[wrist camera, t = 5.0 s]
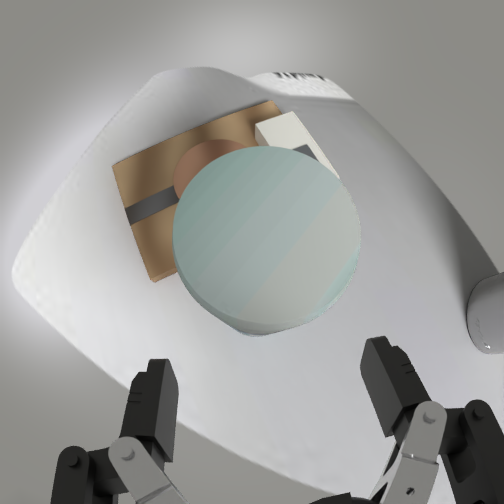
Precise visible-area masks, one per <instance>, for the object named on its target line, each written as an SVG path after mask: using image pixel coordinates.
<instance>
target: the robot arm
mask: <svg viewBox="0 0 504 504" xmlns="http://www.w3.org/2000/svg"><path fill="white" fill-rule="evenodd" d="M467 323H468V330H469V333H470V336H471V338H472V340H473V342H474V344H475V345H476V347H477V348H478V349H479V350H481V351H482V352H484V353H487V354H502V353H504V272H502V273H500V274H497V275H494V276H492V277H489V278H486V279H484V280H482V281H480V282H479V283H478V284H477V285H476V287H475V288H474V289H473V291H472V294H471V296H470V299H469V303H468V309H467ZM360 370H361V375H362V378H363V380H364V383H365V385H366V388H367V390H368V393H369V396H370V398H371V401H372V403H373V406H374V408H375V411H376V414H377V416H378V419H379V422H380V424H381V427H382V430H383V432H384V435H385V438H386V437H389V436H393V435H394V437H395V439H396V441H395V443H394V446H393V448H392V451H391V453H390V456H389V458H388V461H387V463H386V465H385V468H384V470H383V472H382V475H381V477H380V479H379V481H378V482H377V484H376V486H375V487H374V489H373V491H372V493H371V495H370V497H369V499H364V498H358V497H351V494H350V492H349V493H344V494H340V495H336V496H331V497H326V498H322V499H320V500H317V501H315V502H312V503H310V504H427V502H428V499H429V497H430V494H431V491H432V488H433V485H434V482H435V479H436V476H437V472H438V468H439V464H438V463H436V460H437V456H438V455H439V454H440V455H441V458H442V460H443V463H444V466H445V469H446V472H447V475H448V478H449V481H450V485H451V488H452V491H453V494H454V498H455V501H456V504H504V434H503V432H502V430H501V428H500V426H499V424H498V422H497V420H496V418H495V416H494V414H493V412H492V410H491V408H490V406H489V405H488V404H487V403H486V402H484V401H482V400H472V401H470V402H469V403H468V404H467V405H466V406H465V408H452V409H446V408H444V407H443V406H442V405H440V404H439V403H437V402H434V401H432V400H431V399H430V397H429V395H428V393H427V391H426V390H425V388H424V386H423V384H422V382H421V380H420V378H419V376H418V374H417V372H415V369H414V367H413V365H411V361H410V360H409V358H408V356H407V354H406V353H405V352H404V351H403V350H402V349H400V348H399V347H398V346H393V347H391V345H390V343H389V341H388V339H387V338H386V337H385V336H380V337H375V338H369V339H367V340H366V343H365V347H364V351H363V355H362V359H361V364H360ZM178 395H179V391H178V383H177V380H176V377H175V374H174V372H173V369H172V366H171V363H170V361H169V359H150V360H149V363H148V367H147V372H138V374H137V375H136V377H135V378H134V379H133V381H132V383H131V387H130V394H129V396H128V403H127V405H126V410H125V414H124V419H123V424H122V429H121V433H120V436H119V438H118V439H117V440H115V441H114V442H113V443H112V444H111V446H110V447H108V448H105V449H100V450H94V451H89V452H86V451H85V450H84V449H83V448H81V447H78V446H70V447H67V448H65V449H64V450H63V451H62V452H61V454H60V455H59V458H58V462H57V467H56V473H55V479H54V484H53V490H52V497H51V504H118V494H121V493H127V492H130V494H131V495H132V497H133V498H134V500H135V502H136V504H190V503H189V502H188V501H187V500H186V499H185V498H184V497H183V495H182V494H181V493H180V492H179V490H178V489H177V488H176V487H175V486H174V484H173V483H172V482H171V480H170V479H169V478H168V477H167V475H166V474H165V473H164V463H165V462H173V450H174V438H175V427H176V416H177V405H178Z"/></svg>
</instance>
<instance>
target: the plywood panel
mask: <svg viewBox="0 0 504 504" xmlns="http://www.w3.org/2000/svg"><path fill="white" fill-rule="evenodd" d="M280 115H283V114H282V113H281V111H280V110H279V109H278V107H277V106H276V105H275V103H274V102H273V101H272V100H271V101H268V102H265V103H262V104H259V105H256V106H253V107H250V108H247V109H244V110H241V111H238V112H235V113H233V114H230V115H227V116H224V117H222V118H219V119H216V120H214V121H211V122H209V123H206V124H204V125H201V126H199V127H196V128H194V129H191V130H189V131H186V132H184V133H182V134H179V135H177V136H174V137H172V138H170V139H168V140H165V141H163V142H161V143H159V144H156V145H154V146H152V147H150V148H148V149H146V150H143V151H141V152H139V153H137V154H135V155H133V156H131V157H129V158H127V159H125V160H123V161H121V162H119V163H117V164H115V165H113V166H112V168H113V172H114V175H115V179H116V182H117V185H118V189H119V192H120V195H121V198H122V201H123V204H124V208H125V211H126V214H127V217H128V220H129V223H130V226H131V229H132V231H133V234H134V237H135V240H136V243H137V246H138V248H139V251H140V254H141V257H142V259H143V262H144V265H145V267H146V270H147V272H148V275H149V278H150V280H152V281H153V282H157V281H159V280H161V279H163V278H165V277H167V276H169V275H172V274H174V273H176V272H178V271H177V268H176V265H175V261H174V256H173V249H172V232H173V221H174V216H175V211H176V208H177V205H178V202H179V200H180V198H181V196H182V194H183V192H184V190H185V189H186V187H187V186H188V184H189V183H190V181H191V180H192V179H193V178H194V177H195V176H196V175H197V174H198V173H199V172H200V171H201V170H202V169H203V168H204V167H205V166H207V165H208V164H209V163H211V162H212V161H214V160H215V159H217V158H219V157H221V156H223V155H225V154H227V153H230V152H233V151H236V150H239V149H243V148H248V147H255V146H259V144H258V143H257V141H256V140H255V124H256V123H259V122H262V121H265V120H268V119H271V118H274V117H277V116H280Z"/></svg>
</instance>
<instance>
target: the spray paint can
mask: <svg viewBox="0 0 504 504" xmlns="http://www.w3.org/2000/svg"><path fill="white" fill-rule="evenodd" d="M360 244H361V229H360V222H359V217H358V213H357V210H356V207H355V204H354V202H353V200H352V198H351V196H350V194H349V192H348V191H347V189H346V188H345V186H344V185H343V184H342V182H341V181H340V180H339V179H338V178H337V176H336V175H335V174H334V173H332V172H331V171H330V170H329V169H328V168H327V167H325V166H324V165H323V164H321V163H320V162H318V161H317V160H315V159H313V158H311V157H309V156H307V155H305V154H303V153H300V152H298V151H294V150H291V149H287V148H282V147H274V146H255V147H248V148H243V149H239V150H236V151H233V152H230V153H227V154H225V155H223V156H221V157H219V158H217V159H215V160H214V161H212V162H211V163H209V164H208V165H207V166H205V167H204V168H203V169H202V170H201V171H200V172H199V173H198V174H197V175H196V176H195V177H194V178H193V179H192V180H191V181H190V183H189V184H188V186H187V187H186V189H185V190H184V192H183V194H182V196H181V198H180V200H179V202H178V205H177V208H176V211H175V216H174V221H173V232H172V249H173V256H174V261H175V265H176V268H177V271H178V273H179V275H180V278H181V280H182V282H183V283H184V285H185V287H186V288H187V290H188V291H189V293H190V294H191V295H192V296H193V298H194V299H195V300H196V301H197V302H198V303H199V304H200V305H201V306H202V307H203V308H205V309H206V310H207V311H208V312H210V313H211V314H213V315H214V316H216V317H217V318H218V319H220V320H221V321H223V322H224V323H226V324H227V325H229V326H230V327H232V328H233V329H235V330H237V331H238V332H240V333H242V334H244V335H247V336H253V337H260V336H265V335H269V334H273V333H276V332H280V331H283V330H287V329H290V328H293V327H297V326H300V325H302V324H305V323H307V322H309V321H311V320H313V319H315V318H317V317H318V316H320V315H321V314H323V313H324V312H325V311H327V310H328V309H329V308H330V307H331V306H332V305H333V304H334V303H335V302H336V301H337V300H338V299H339V298H340V297H341V295H342V294H343V293H344V291H345V290H346V288H347V287H348V285H349V283H350V281H351V279H352V277H353V274H354V271H355V268H356V265H357V261H358V256H359V252H360Z"/></svg>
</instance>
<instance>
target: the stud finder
mask: <svg viewBox="0 0 504 504" xmlns="http://www.w3.org/2000/svg"><path fill="white" fill-rule="evenodd" d="M255 140H256V141H257V143H258V144H259V146H274V147H282V148H287V149H291V150H294V151H298V152H300V153H303V154H305V155H307V156H309V157H311V158H313V159H315V160H317V161H318V162H320V163H321V164H323V165H324V166H325V167H327V168H328V169H329V170H330V171H331V172H332V173H334V174H335V175H336V176H337V178H338V179H339V178H340V177H339V176H338V174H337V173H336V171H335V170H334V168H333V167H332V165H331V164H330V162H329V161H328V159H327V158H326V156H325V155H324V154H323V152H322V151H321V149H320V148H319V146H318V145H317V144H316V142H315V141H314V139H313V138H312V137H311V135H310V134H309V132H308V131H307V130H306V128H305V127H304V126H303V124H302V123H301V121H300V120H299V119H298V117H297V116H296V115H295V114H294V112H293V111H292V112H289V113H286V114H283V115H280V116H277V117H274V118H271V119H268V120H265V121H262V122H259V123H256V124H255Z"/></svg>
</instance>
